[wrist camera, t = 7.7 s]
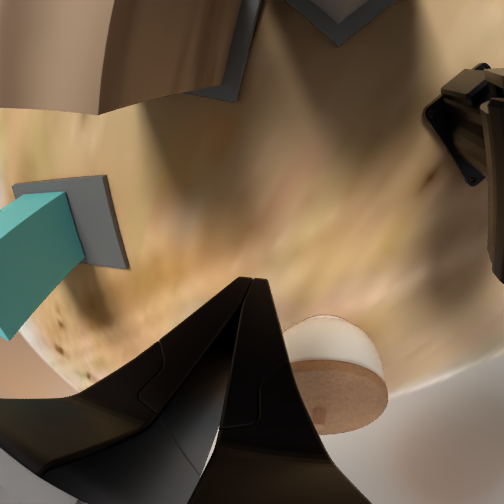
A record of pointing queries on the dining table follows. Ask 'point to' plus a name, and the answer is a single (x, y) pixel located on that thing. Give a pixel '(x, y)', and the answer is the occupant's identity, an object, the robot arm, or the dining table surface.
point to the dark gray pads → (96, 187)
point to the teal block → (34, 254)
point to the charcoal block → (339, 8)
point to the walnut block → (110, 51)
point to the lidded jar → (336, 373)
